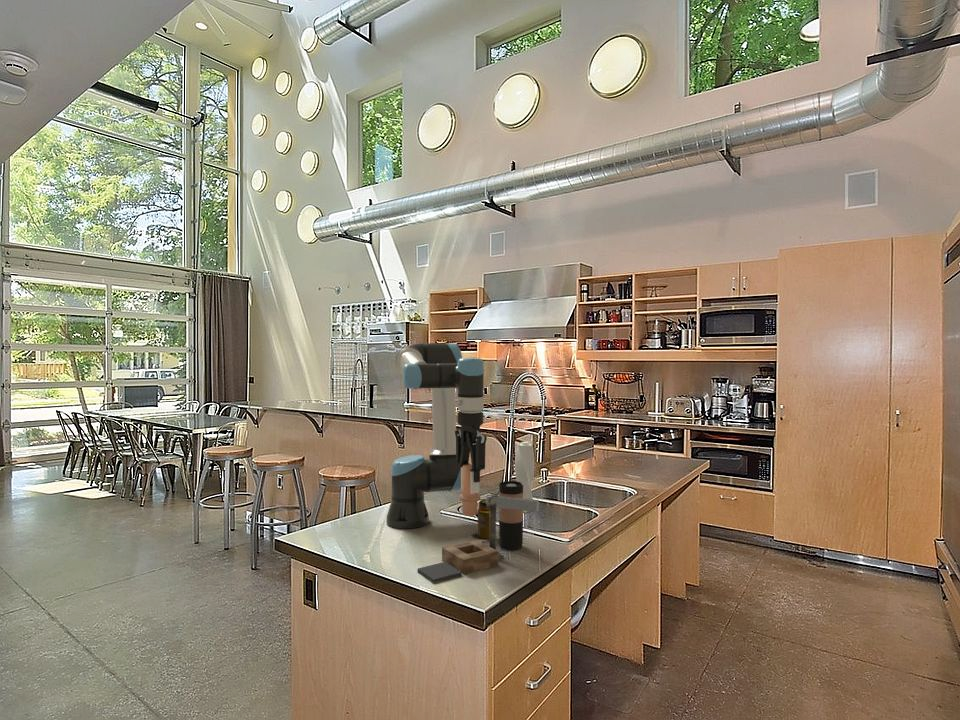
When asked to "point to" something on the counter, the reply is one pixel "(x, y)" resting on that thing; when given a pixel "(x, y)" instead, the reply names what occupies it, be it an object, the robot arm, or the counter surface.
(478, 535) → the condiment
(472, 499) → the peg
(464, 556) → the socket block
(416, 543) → the counter surface
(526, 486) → the skyscraper
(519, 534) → the travel mug
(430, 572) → the mat
